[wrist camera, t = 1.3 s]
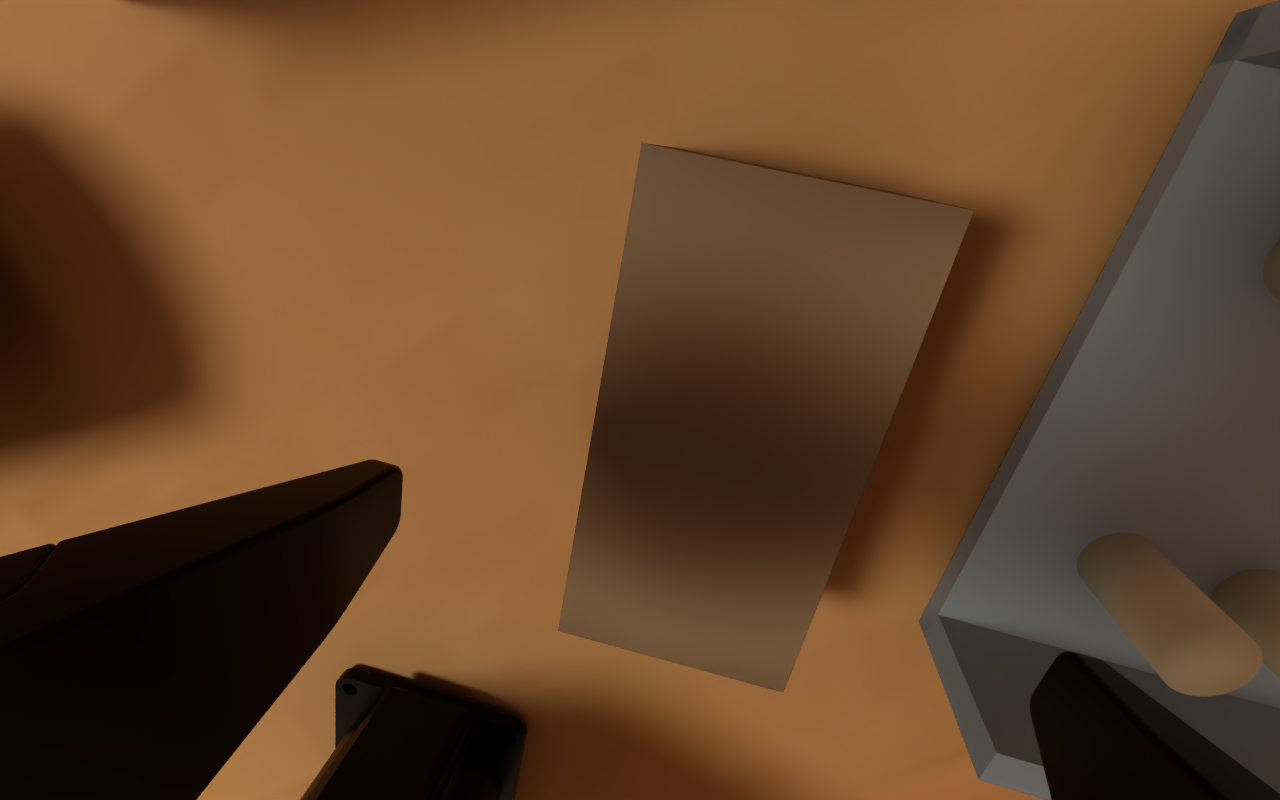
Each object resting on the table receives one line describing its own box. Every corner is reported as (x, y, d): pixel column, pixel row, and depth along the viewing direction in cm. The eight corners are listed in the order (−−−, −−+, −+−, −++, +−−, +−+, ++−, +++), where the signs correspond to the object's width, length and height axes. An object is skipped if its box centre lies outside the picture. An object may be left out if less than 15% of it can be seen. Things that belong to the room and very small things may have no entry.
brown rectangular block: (775, 572, 16) (783, 692, 13) (599, 527, 17) (557, 631, 13) (906, 195, 12) (974, 210, 9) (671, 147, 13) (641, 143, 9)
